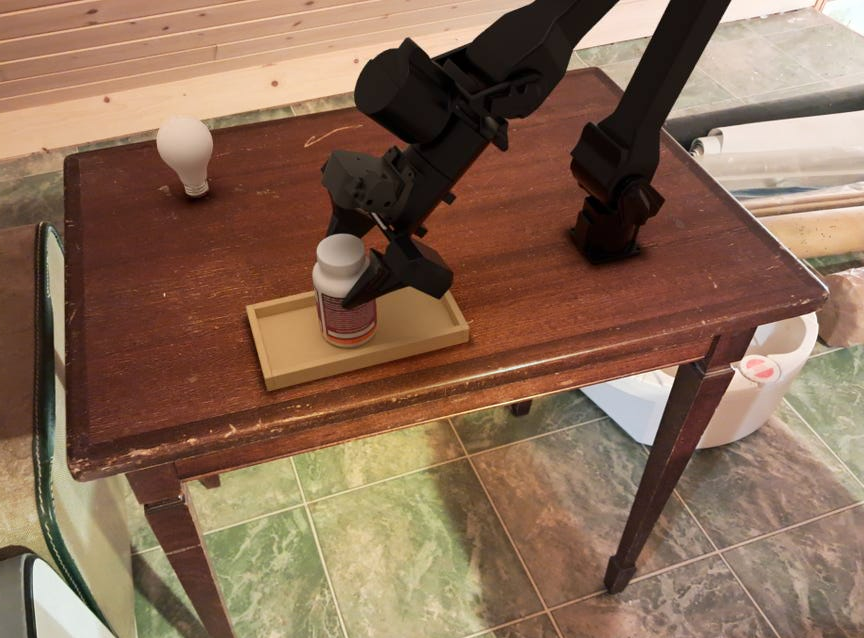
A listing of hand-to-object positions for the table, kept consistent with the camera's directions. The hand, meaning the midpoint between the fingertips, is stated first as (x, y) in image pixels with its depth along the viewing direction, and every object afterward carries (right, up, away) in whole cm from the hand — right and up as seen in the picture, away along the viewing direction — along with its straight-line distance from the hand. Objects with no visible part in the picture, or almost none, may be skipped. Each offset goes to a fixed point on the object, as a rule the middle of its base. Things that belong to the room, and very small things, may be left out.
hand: (331, 287), depth 72 cm
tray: (+2, -4, +6) cm, 8 cm away
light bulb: (-19, +14, +22) cm, 32 cm away
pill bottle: (+1, -4, +5) cm, 7 cm away
